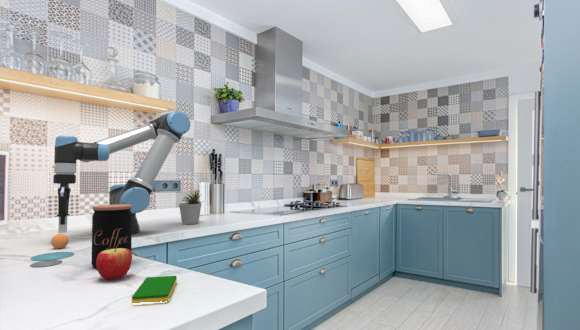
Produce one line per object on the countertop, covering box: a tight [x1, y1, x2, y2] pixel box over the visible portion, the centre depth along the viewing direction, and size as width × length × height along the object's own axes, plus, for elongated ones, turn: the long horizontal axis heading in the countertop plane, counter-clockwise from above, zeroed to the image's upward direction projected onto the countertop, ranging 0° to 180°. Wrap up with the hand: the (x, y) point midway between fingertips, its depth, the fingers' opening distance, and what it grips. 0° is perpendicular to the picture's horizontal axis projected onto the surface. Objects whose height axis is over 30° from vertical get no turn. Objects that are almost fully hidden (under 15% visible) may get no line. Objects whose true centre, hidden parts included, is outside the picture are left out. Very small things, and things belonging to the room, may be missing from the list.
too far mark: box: [29, 259, 63, 268], centre depth 102 cm, size 8×8×1 cm
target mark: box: [30, 251, 75, 262], centre depth 112 cm, size 12×12×1 cm
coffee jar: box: [91, 204, 133, 270], centre depth 100 cm, size 11×11×18 cm
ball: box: [50, 233, 69, 250], centre depth 124 cm, size 6×6×6 cm
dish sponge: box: [131, 275, 178, 304], centre depth 75 cm, size 7×14×2 cm, turn 11°
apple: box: [96, 239, 133, 281], centre depth 87 cm, size 8×8×10 cm
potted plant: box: [178, 189, 205, 226], centre depth 190 cm, size 13×14×20 cm
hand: (62, 232), depth 133 cm, fingers closed
